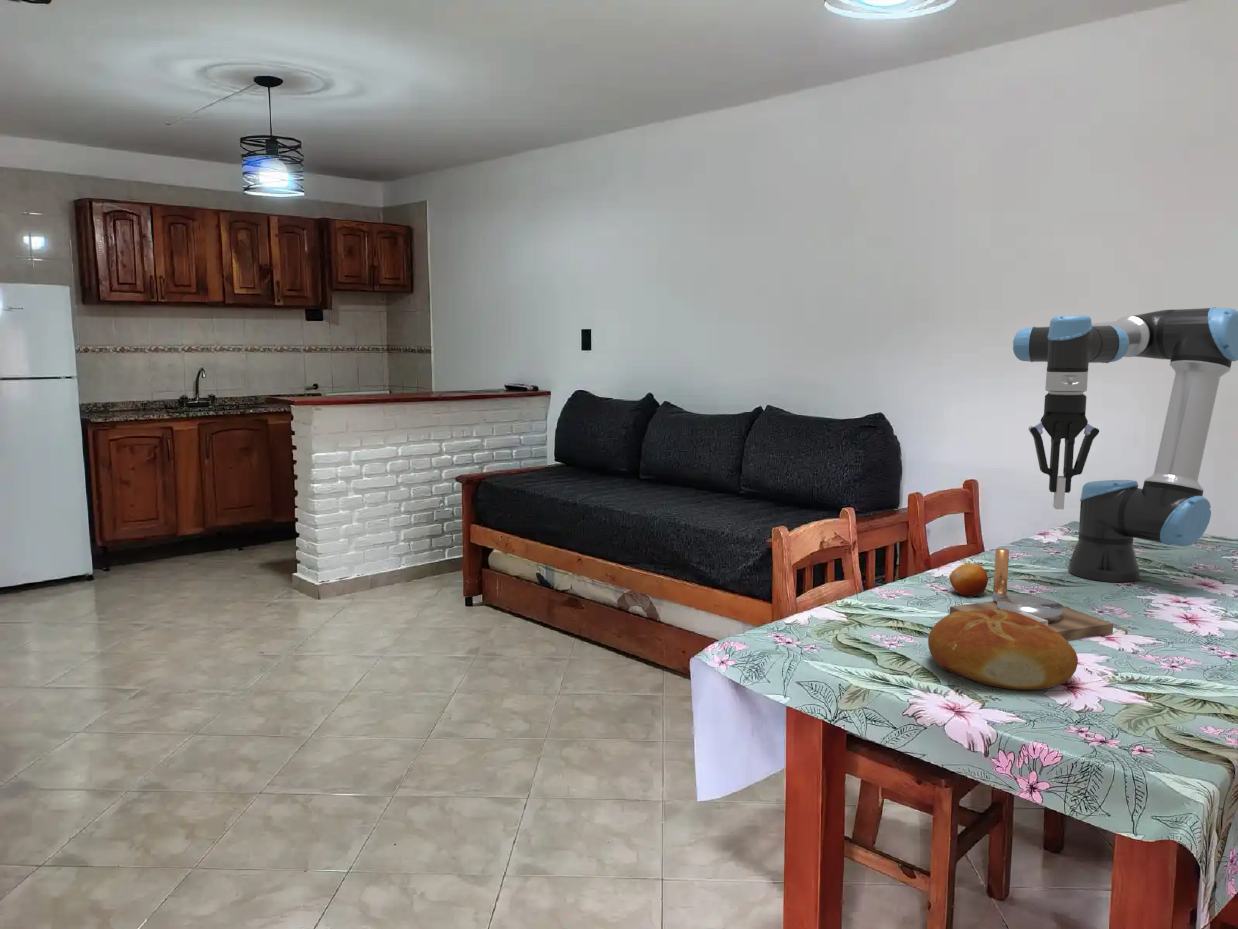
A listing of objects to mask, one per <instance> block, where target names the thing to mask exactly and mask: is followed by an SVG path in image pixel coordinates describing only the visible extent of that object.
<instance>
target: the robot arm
mask: <svg viewBox="0 0 1238 929" xmlns="http://www.w3.org/2000/svg"><path fill="white" fill-rule="evenodd" d="M1012 351H1013V354H1014V356H1015V357H1016V358H1017V359H1018V360H1019V361H1023V362H1030V363H1035V362H1036V363H1042V362H1043V363H1044V362H1045V363H1046V362H1047V366H1046V372H1045V373H1046V374H1045V387H1044V388H1045V389H1044V390H1045V391H1046V392H1048V393H1046V395H1044V404H1043V405H1044V406H1043V408H1044V409H1043V416H1042V417H1041V419H1040V422H1038V423H1037V424H1035V425H1033V426H1031V425H1030V426H1029V427H1028V431H1029V433H1030V434H1031V436H1032V438H1033V442H1034V446H1035V451H1036V457H1037V462H1038V466H1039V470H1040V472H1041V473H1042V474H1045V475H1048V476H1049V479H1048V480H1049V481H1048V482H1049V483H1048V490H1049V492H1050V493H1053V503H1052V504H1053V505H1052V507H1053V508H1054V509H1055V510H1064V509H1065V499H1066V498H1065V496H1066V493H1067V494H1069V493H1070V492H1071V491H1072V490H1071V489H1072V478H1073V477H1075V476H1078V475H1079V476H1080V475H1081V474H1083V471H1084V468H1085V465H1086V462H1087V459H1088V456H1089V453H1090V450H1091V447H1092V444H1093V441H1094V440H1095V438H1096V437H1097V436H1098V435H1099V433H1100V429H1098V428H1097V427H1094V426H1093V425H1091V424H1090V423H1088V422H1089V421H1088V419H1087V416H1086V411H1087V395H1086V394H1085V392H1087V390H1088V381H1089V380H1088V378H1089V377H1088V376H1089V375H1088V374H1089V363H1090V364H1094V363H1095V364H1096V363H1097V364H1099V363H1100V364H1109V363H1112V362H1113V363H1114V362H1117V361H1119V360H1122V358H1124V357H1125V358H1135V357H1137V358H1149V359H1156V360H1169V365H1170V367H1171V368H1172V369H1173V371H1174V372H1175V373H1174V379H1173V383H1172V386H1171V387H1172V388H1171V391H1170V396H1169V401H1168V406H1167V411H1166V416H1165V420H1164V425H1163V429H1162V433H1161V439H1160V443H1159V447H1158V452H1157V456H1156V462H1155V467H1154V471H1153V474H1152V475H1151V476H1149V477H1147V478H1146V479H1144V482H1143V485H1142V488H1141V487H1140V488H1139V484H1138V481H1137V480H1133V479H1110V480H1109V479H1108V480H1107V479H1106V480H1097V481H1096V480H1095V481H1089V482H1086V483H1085V484H1084V485H1083V486H1082V489H1081V496H1080V499H1079V501H1080V507H1079V508H1080V510H1079V522H1078V523H1079V526H1078V538H1077V543H1076V545H1075V548H1074V550H1073V553H1072V555H1071V558H1069V561H1068V570H1067V571H1068V572H1069V573H1070V574H1072V575H1074V576H1077V577H1080V578H1083V579H1087V580H1092V581H1101V582H1108V583H1110V582H1111V583H1129V582H1135V581H1138V580H1139V579H1140V570H1141V569H1140V566H1139V565H1138V561H1137V556H1136V552H1135V548H1134V539H1138V540H1139V539H1140V540H1144V541H1150V542H1153V543H1154V542H1155V543H1159V544H1164V545H1167V546H1171V545H1172V546H1177V547H1178V546H1179V547H1187V546H1190V545H1192V544H1195V543H1196V542H1197V541H1198V540H1199V539H1201V537H1202V536H1203V535H1204V534H1205V532H1206V531H1207V529H1208V526H1209V524H1210V521H1211V516H1212V510H1211V508H1212V507H1211V506H1212V505H1211V503H1210V501H1209V500H1208V499H1207V498H1205V497H1204V495H1203V494H1204V491H1205V490H1204V488H1203V487H1202V486H1201V484H1200V482H1199V475H1200V472H1201V468H1202V467H1201V466H1202V464H1203V463H1202V462H1203V458H1204V454H1205V453H1204V452H1205V448H1206V444H1207V440H1208V434H1209V431H1210V427H1211V426H1210V425H1211V421H1212V417H1213V416H1212V415H1213V412H1214V406H1215V402H1216V398H1217V394H1218V389H1219V385H1220V379H1221V377H1223V376H1224V375H1225V374H1227V373H1229V372H1230V371H1231V366H1232V362H1237V361H1238V310H1237V309H1235V308H1231V307H1230V308H1229V307H1227V308H1226V307H1222V308H1221V307H1215V306H1213V307H1205V308H1203V307H1202V308H1187V309H1186V308H1182V309H1162V310H1156V311H1151V312H1146V313H1141V314H1134V315H1127V316H1123V317H1121V318H1118V319H1117V320H1116V321H1103V322H1092V318H1091V317H1090V316H1089V315H1057V316H1054V317H1052V318H1051V319H1050V321H1049V326H1038V327H1036V326H1032V327H1023V328H1021V329H1018V331H1017V332H1016V333H1015V335H1014V337H1013V341H1012ZM1043 428H1044V430H1045V431H1046V433H1047V434H1048V435H1049V436H1050V444H1051V445H1050V457H1049V465H1048V461H1047V460H1048V459H1047V457H1046V456H1047V455H1046V451H1045V446H1044V441H1043V437H1042V435H1043V432H1044V431H1043ZM1082 431H1083V434H1084V437H1083V439H1082V442H1081V444H1080V445H1081V446H1080V448H1079V451H1078V454H1077V457H1076V460H1075V463H1074V452H1075V451H1074V449H1075V444H1076V443H1075V442H1076V438H1077V437H1078V436H1079V434H1081V433H1082ZM1062 439H1064V452H1063V453H1064V455H1063V469H1062V475H1059V469H1060V468H1059V466H1060V465H1059V464H1060V452H1061V449H1060V448H1061V441H1062Z"/></svg>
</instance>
